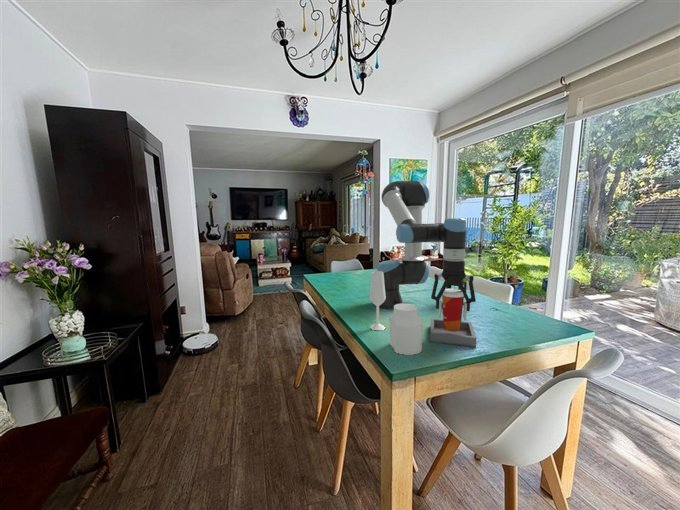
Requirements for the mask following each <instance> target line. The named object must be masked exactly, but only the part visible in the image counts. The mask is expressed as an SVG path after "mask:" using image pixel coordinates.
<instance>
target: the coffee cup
mask: <svg viewBox="0 0 680 510" xmlns="http://www.w3.org/2000/svg"><path fill="white" fill-rule="evenodd" d="M441 298H442V299H441V301H442V317H443V318H442V320H443V324H444V329H445V330H448V331H453V332H456V331H460V328H461V321H462V318H463V309H464V305H463V298H464V295H463V292H462V291H461V290H458V289H457V288H455V289H454V288H451V289H445V291H444V292H443V294H442V296H441ZM464 299H465V298H464Z"/></svg>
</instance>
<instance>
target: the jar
mask: <svg viewBox="0 0 680 510" xmlns="http://www.w3.org/2000/svg"><path fill="white" fill-rule="evenodd" d="M422 331H423V321H422V318H421V317H420V315H419V309H418V306H417V305H415V304H412V303H403V302H402V304H396V305H394V308H393V313H392V314H391V315H390V317H389V346H390V345H391V347H392V348H393V351H394V353H395V352H396V353H395V354H398V353H399V354H398V355H402V354H404V355H403V356H414V354H415V355H417V354H420V353H421V352H422V351H423V346H422V343H423V341H422V340H423V337H422V336H423V332H422Z"/></svg>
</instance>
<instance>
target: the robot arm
mask: <svg viewBox="0 0 680 510" xmlns="http://www.w3.org/2000/svg"><path fill="white" fill-rule="evenodd" d="M429 200H430V188H429V186H428V184H427V183H426V182H425V181H423V180H395V181H392V182H390V183H388V184H387V185H386V186H385V187H384V188H383V189H382V193H381V201H382V203H383V205H384V207H385V208H387V209H388V211H389V212H390V214H391V216H392V218H393V220H394V222H395V224H396V226H397V227H396V230H395V235H396V241H397V242H398V243H401V244H404V256H403V258H402V259H401V262H400V261H399V260H397V259H395V260H394V259H389V260H384V261H381V262H379V263H377V267H376V271H382V272H383V274H384V285H385V295H386V299H385V301H384V302H383V303H382V304H381V305H380V306H379V309H380V308H381V309H394V305H396V304H403V298H402V296H401V292H400V286H402V285H404V286H405V285H421V284H424V283H426V282H427V280H428V279H429V276H430V268H429V267H430V266H429V264H428V262H426V261H425V258H424V256H422V255H423V254H422V253H423V249H422V246H423V244H422V243H443V250H442V251H443V253H442V254H443V256H442V257H443V261H442V262H443V263H442V272H441V273H437V272H436V273H434V283H433V287H432V292H431V295H430V296H431V299H432V300H435V309H436V310H438V319H441V318H442V299H441V298H442V294H443V292H444V291H445V289H446V287H447V286H448V284H455V285H458V284H459V286H460V288H461V291H462V292H463V295H464V297H465V298H464V300H465V301H464V305H463V313H462V318H463V321H467V313H468V312H470V311H471V304H472V303H475V302H476V293H475V288H474V278H475V277H474V275H473V274H466V272H465V271H466V270H465V267H466V261H465V259H466V244H467V238H466V237H467V221H466V220H467V219H466V218H464V217H463V218H462V217H460V218H459V217H456V218H454V217H453V218H452V217H450V218H446V219H444V223H443V222H437V223H423V217H422V216H423V214H422V213H423V209H424V208H426V204H427V203H428V202H429ZM441 277H442V278H443V280H444V282H443V284H442V286H441V287H440V289H439V291H438V293H437V290H438V284H439V280H440V279H441ZM465 278H466V281H467V282H468V286H469V293H470V297H469V295H468V294H467V290H466V291H465V289H464V285H463V284H462V281H464V280H465ZM436 293H437V294H436ZM436 295H437V296H436ZM374 306H375V307H376V305H374Z"/></svg>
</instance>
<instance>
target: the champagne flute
mask: <svg viewBox="0 0 680 510" xmlns="http://www.w3.org/2000/svg"><path fill="white" fill-rule="evenodd" d="M370 277H371V278H370V289H369V300H370V302H371V303H372V304H373V305H374V306H375V305H376V306H375V315H376V317H375V318H376V319H375V321H376V322H375V324H372V325H370V326H371V327H370V326H369V329H370V328H371V329H372V331H374V330H383V331H384V329H385V328H386V326H385V327H384V325H383V324H381V323H380V307H379V306H380V305H381V304H382V303H383V302H384V301H385V299H386V295H385V285H384V274H383V272H382V271H377V270H376V271H375V270H374V271H371V276H370ZM371 329H370V330H371ZM385 330H386V329H385Z"/></svg>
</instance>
